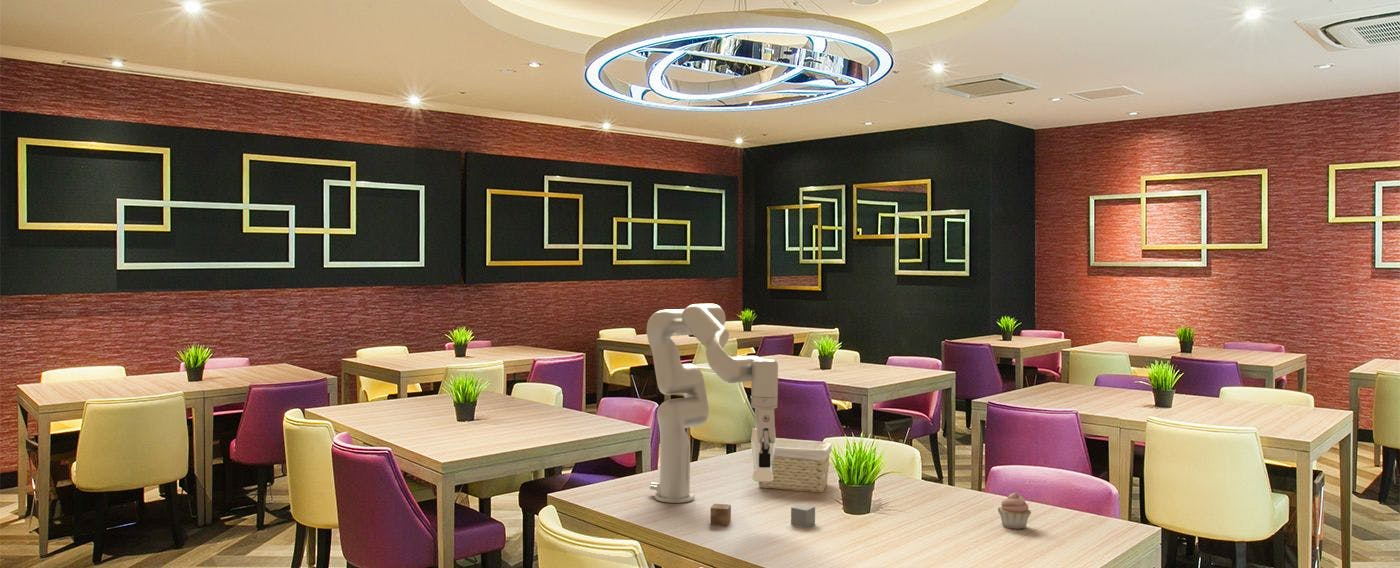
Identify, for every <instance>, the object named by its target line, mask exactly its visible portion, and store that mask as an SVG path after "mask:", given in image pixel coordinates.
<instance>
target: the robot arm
mask: <svg viewBox="0 0 1400 568" xmlns="http://www.w3.org/2000/svg"><path fill="white" fill-rule="evenodd" d="M726 318H727V317H726V313H725V311H724V309H723V308H722V307H721V306H720V305H718V304H715V303H694V304H690V305H688V306H686V307H685V308H679V309H678V308H674V309H672V308H670V309H668V308H667V309H661V310H658V311H656V312H654V313H652V314H651V315H650V317H649V318H648V321H647V325H646V336H647V340H648V343H649V347H650V350H651V353H652V359H653V365H654V371H655V378H656V383H657V384H656V385H657V387H658V390H659V392H660V393H661V394H662V395H666V396H669V395H670V396H671V395H672V396H673V395H683V397H679V398H678V397H677V398H672V399H667V400H665V401H663V402H662V403H661V404H660V405H659V407H658V409H657V412H656V413H657V416H656V418H657V422H658V427H659V438H660V439H659V441H660V443H659V450H660V451H659V454H660V455H659V482H652V481H651V482H650V484H649V489H650V490H651V491H652V490H654V491H656V493H655V494H654V499H655V500H656V501H659V502H660V503H661V502H662V503H668V504H672V503H673V504H681V503H687V502H692V501H693V500H694V499H695V494H694V493H693V492H692V491H690V490H691V487H690V486H691V485H690V483H691V441H690V437H689V436H688V435H689V434H687V432H686V429H687V428H693V427H700V426H701V425H704V424H705V423H707V421H708V418H709V414H710V410H709V401H708V396H707V390H706V383H705V379H704V375H703V373H702V371H701V369H700V368H699V367H698V366H697V365H695V364H693V363H682V361H681V357H680V350H679V348H678V347H677V344H676V343H675V342H674V340H672V338H671V337H673V336H675V337H676V336H677V337H678V336H694V338H696V339H697V341H699V342H700V343H701V345H702V346H704V348H705V349H706V350H705V355H706V361H707V363H708V366H709V367H710V368H711V370H712V371H713V372H714V373H715V374H716V375H717V376H718V377H719V378H720V379H721V380H722V381H724V382H725V383H728V384H737V383H748V382H749V383H750V382H751V384H750V385H751V389H750V390H751V391H750V392H751V393H750V394H751V396H750V397H751V398H750V407H751V409H754V426H755V428H756V431H757V441H758V443H760V453H759V467H764V468H769V467H770V456H771V453H770V441H771V442H773V443H775V435H776V427H775V426H776V425H775V424H776V422H775V419H776V418H775V409H777V408H778V395H779V394H778V389H779V388H778V387H779V386H778V385H779V384H778V383H779V381H778V380H779V364H778V361H777V360H776V359H772V358H763V357H759V356H757V355H739V356H731V355H730V354H728V353H727V351H725V349H724V347H725V346H726V345H727V343H728V341H729V337H730V332H729V330H728V328H726V326H725V324H726ZM768 436H769V437H768ZM763 437H764V442H762V440H761V439H763ZM762 445H763V446H762Z"/></svg>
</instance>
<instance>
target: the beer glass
mask: <svg viewBox="0 0 1400 568" xmlns="http://www.w3.org/2000/svg"><path fill="white" fill-rule="evenodd" d="M751 430H752V431H751V439H750V441H751V444H750V445H751V447H750V448H751V454H752V461H753V470H752V471H753V472H752V477H751V479H752V481H755V482H758V483H759V482H769V481H773V473H772V464H773V458H774V453H775V446H776V438H777V437H776V434H775V443H773V442H771V441H770V453H771V456H770V467H769V468H764V467H759V453H760V443H758V441H757V431H756V428H755V425H754V426H752V428H751ZM768 437H769V436H768ZM761 440H762V442H764V437H763V439H761ZM762 446H763V445H762Z"/></svg>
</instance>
